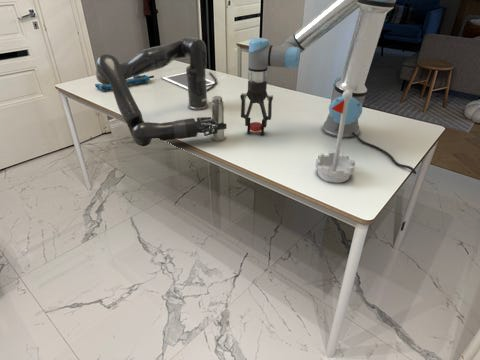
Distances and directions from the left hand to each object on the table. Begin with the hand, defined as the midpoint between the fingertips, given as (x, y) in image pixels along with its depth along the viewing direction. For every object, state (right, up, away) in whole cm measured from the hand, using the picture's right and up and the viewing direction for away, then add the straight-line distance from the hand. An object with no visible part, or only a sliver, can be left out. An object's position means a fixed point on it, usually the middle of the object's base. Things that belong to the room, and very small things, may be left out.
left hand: (224, 123), depth 141 cm
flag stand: (+40, -22, -22) cm, 50 cm away
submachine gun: (-64, +36, +67) cm, 100 cm away
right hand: (+13, -3, +6) cm, 15 cm away
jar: (-2, -6, +3) cm, 7 cm away
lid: (+13, 0, +4) cm, 14 cm away
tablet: (-25, +38, +70) cm, 84 cm away
